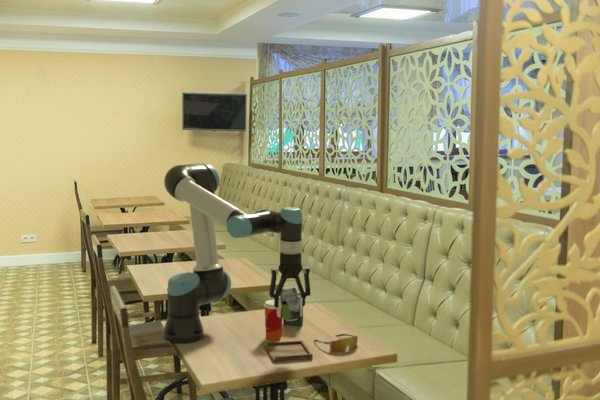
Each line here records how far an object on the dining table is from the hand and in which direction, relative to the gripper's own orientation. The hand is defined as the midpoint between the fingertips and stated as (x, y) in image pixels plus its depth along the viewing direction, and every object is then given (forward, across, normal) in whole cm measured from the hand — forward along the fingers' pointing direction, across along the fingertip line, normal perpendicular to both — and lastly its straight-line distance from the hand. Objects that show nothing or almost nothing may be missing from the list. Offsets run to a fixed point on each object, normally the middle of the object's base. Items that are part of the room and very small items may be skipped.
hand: (289, 315), depth 231 cm
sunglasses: (+15, +20, +6) cm, 25 cm away
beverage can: (+2, 0, 0) cm, 2 cm away
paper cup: (+14, -2, +16) cm, 22 cm away
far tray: (+14, 0, 0) cm, 14 cm away
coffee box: (+14, +9, +30) cm, 34 cm away
